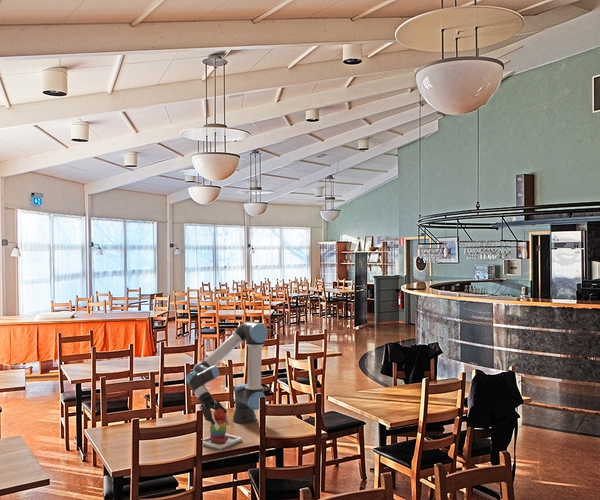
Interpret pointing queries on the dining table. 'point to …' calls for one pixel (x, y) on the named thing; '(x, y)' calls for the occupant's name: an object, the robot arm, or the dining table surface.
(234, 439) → the white square tray
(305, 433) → the dining table surface
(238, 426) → the dining table surface
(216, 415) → the stacking bear
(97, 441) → the dining table surface
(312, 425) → the dining table surface
